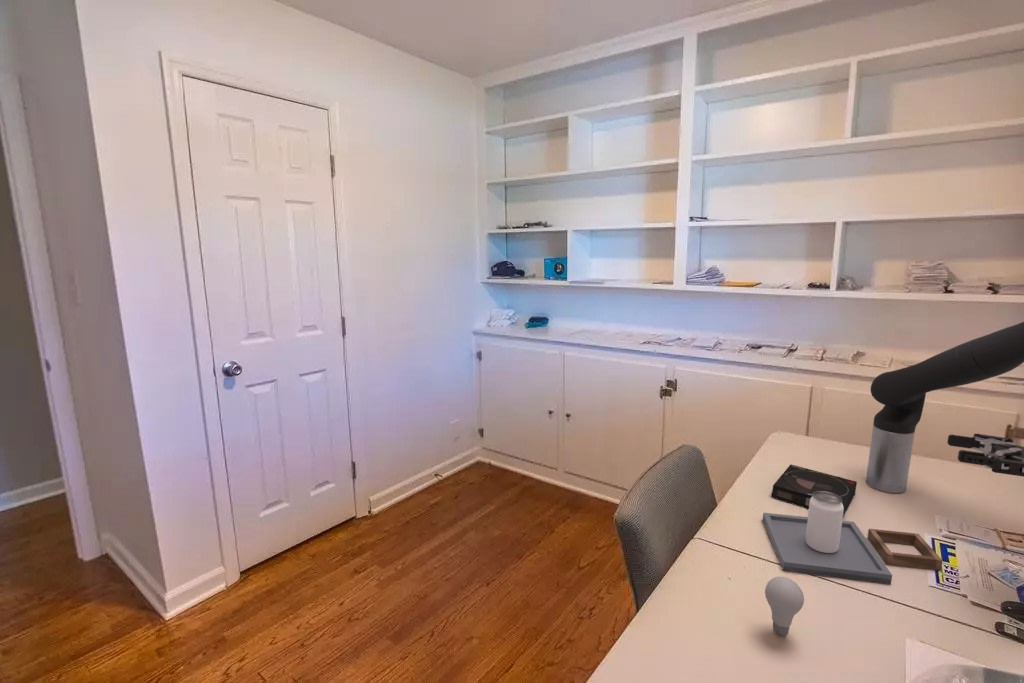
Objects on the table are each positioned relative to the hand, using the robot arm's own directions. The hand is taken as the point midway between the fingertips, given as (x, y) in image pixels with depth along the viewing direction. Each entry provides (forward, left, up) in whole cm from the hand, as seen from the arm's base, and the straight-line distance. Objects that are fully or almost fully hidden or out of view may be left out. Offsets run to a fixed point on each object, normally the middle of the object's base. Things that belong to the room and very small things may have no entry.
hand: (953, 447), depth 103 cm
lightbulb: (+25, -35, -28) cm, 52 cm away
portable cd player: (-30, -14, -29) cm, 44 cm away
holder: (-6, -3, -28) cm, 29 cm away
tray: (-4, -20, -28) cm, 35 cm away
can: (-3, -20, -27) cm, 34 cm away
